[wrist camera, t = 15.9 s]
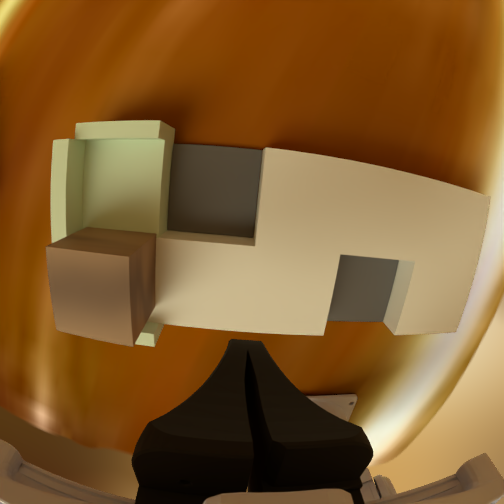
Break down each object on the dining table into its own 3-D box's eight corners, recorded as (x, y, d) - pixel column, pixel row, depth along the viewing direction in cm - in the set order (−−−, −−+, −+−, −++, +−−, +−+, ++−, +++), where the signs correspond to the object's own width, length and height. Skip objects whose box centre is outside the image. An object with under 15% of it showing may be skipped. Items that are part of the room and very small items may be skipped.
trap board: (438, 328, 24) (464, 354, 19) (90, 307, 22) (64, 335, 17) (473, 181, 20) (509, 187, 16) (89, 130, 18) (55, 123, 14)
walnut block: (155, 306, 19) (133, 346, 15) (90, 296, 19) (56, 330, 14) (156, 233, 18) (129, 256, 13) (87, 226, 18) (45, 246, 13)
